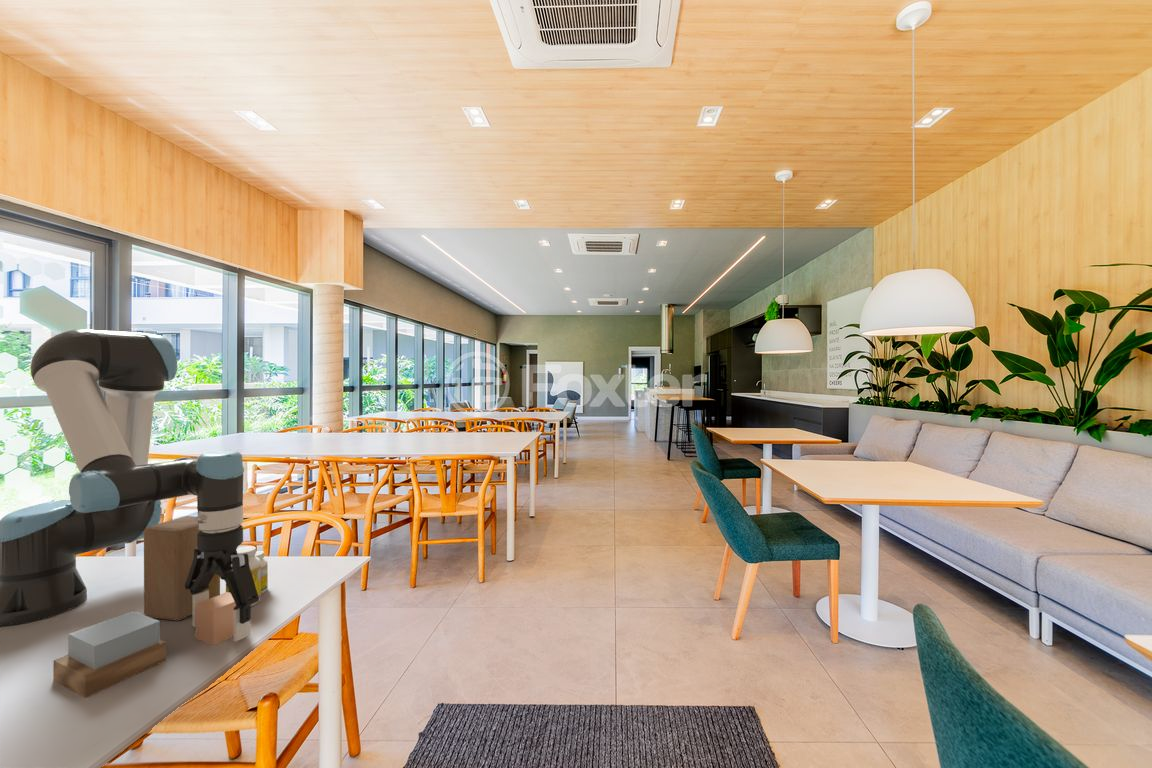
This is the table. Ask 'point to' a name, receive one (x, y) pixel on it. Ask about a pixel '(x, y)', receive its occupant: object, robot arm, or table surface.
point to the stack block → (215, 619)
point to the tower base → (105, 670)
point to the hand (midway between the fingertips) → (220, 630)
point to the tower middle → (113, 639)
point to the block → (171, 568)
